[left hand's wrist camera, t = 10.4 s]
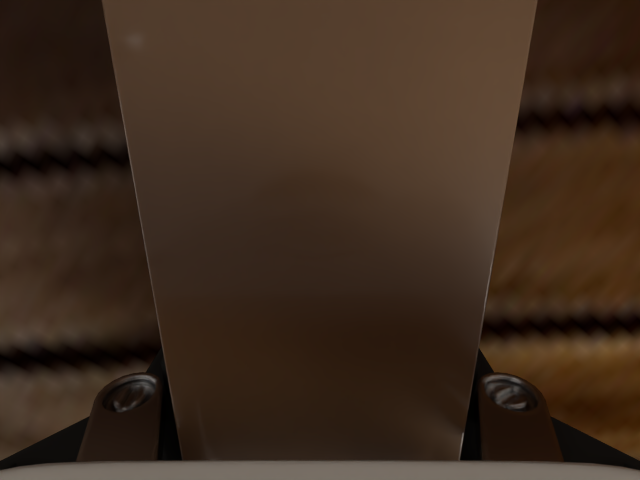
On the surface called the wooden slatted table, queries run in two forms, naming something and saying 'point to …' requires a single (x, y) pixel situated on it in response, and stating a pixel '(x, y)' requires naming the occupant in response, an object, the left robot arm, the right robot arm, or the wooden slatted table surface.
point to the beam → (320, 213)
